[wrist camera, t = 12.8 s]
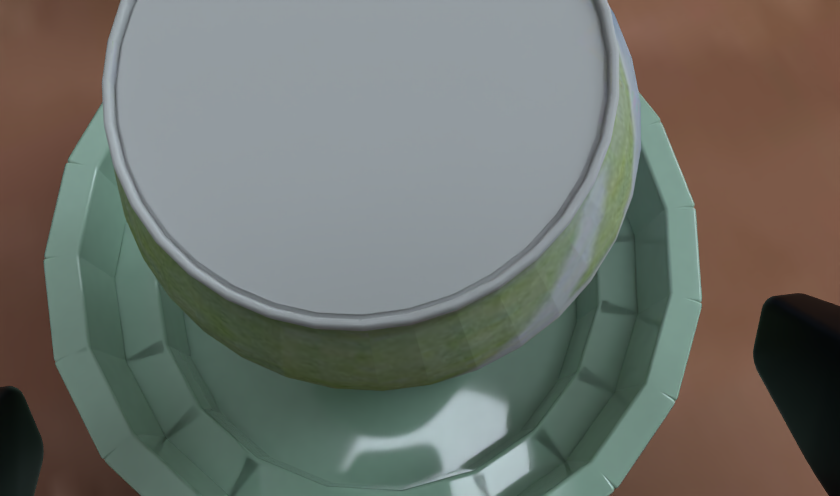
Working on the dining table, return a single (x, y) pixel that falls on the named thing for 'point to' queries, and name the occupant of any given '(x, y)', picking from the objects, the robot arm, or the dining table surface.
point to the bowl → (367, 409)
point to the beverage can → (372, 173)
